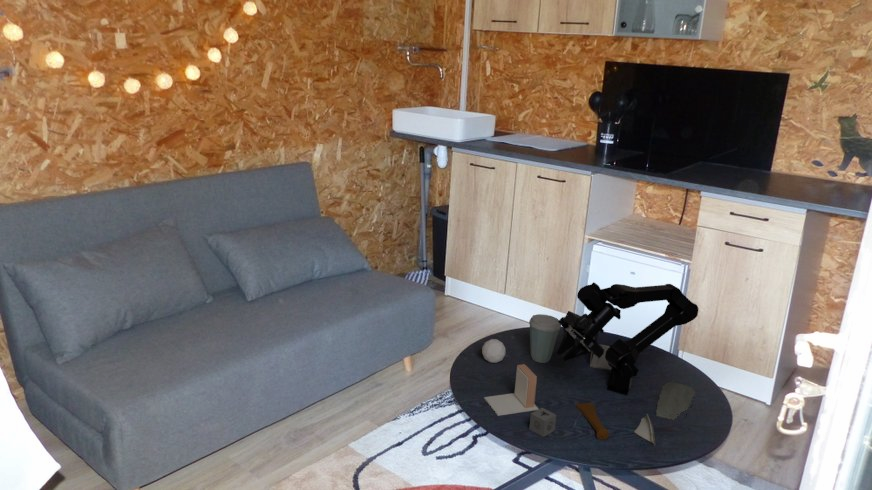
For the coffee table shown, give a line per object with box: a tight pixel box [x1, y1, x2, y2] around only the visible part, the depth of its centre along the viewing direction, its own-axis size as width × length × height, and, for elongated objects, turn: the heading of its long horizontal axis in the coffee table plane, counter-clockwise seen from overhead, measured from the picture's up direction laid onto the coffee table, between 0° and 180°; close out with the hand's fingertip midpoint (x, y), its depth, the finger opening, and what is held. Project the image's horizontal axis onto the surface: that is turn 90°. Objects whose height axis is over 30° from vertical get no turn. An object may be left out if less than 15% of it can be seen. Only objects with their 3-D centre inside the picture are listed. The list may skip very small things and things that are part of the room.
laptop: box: [589, 333, 612, 371], centre depth 237 cm, size 18×12×13 cm
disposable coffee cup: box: [528, 313, 562, 364], centre depth 234 cm, size 11×11×15 cm
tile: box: [514, 363, 538, 408], centre depth 207 cm, size 3×8×10 cm, turn 19°
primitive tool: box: [575, 402, 610, 441], centre depth 200 cm, size 19×6×4 cm, turn 7°
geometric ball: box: [481, 338, 506, 364], centre depth 232 cm, size 8×8×8 cm
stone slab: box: [655, 381, 696, 421], centre depth 212 cm, size 22×3×10 cm
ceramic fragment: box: [633, 413, 656, 447], centre depth 196 cm, size 14×5×4 cm, turn 171°
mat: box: [483, 392, 539, 417], centre depth 207 cm, size 13×10×1 cm
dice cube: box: [528, 407, 557, 437], centre depth 194 cm, size 5×5×5 cm
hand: (560, 357), depth 208 cm, fingers open, 4 cm apart
